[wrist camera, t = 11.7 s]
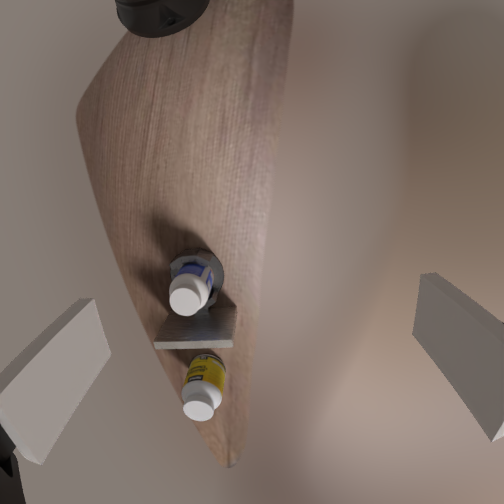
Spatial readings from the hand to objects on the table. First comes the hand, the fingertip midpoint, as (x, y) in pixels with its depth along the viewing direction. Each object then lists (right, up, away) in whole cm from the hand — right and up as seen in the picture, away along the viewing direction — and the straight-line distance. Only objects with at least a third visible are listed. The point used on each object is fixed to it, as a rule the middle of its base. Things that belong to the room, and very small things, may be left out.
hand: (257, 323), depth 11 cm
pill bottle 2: (-8, -18, +41) cm, 46 cm away
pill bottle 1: (-9, -1, +36) cm, 37 cm away
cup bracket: (-9, -2, +37) cm, 38 cm away
